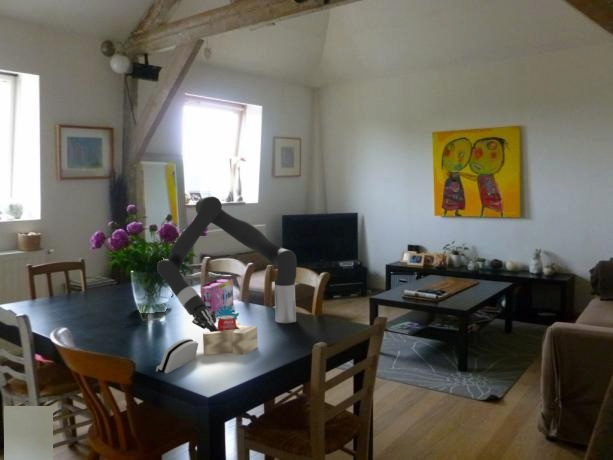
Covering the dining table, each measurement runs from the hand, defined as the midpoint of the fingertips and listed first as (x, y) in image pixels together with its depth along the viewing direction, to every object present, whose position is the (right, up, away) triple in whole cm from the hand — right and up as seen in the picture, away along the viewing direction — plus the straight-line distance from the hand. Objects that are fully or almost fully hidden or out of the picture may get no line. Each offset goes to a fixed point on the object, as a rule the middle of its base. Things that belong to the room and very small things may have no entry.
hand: (217, 334), depth 210 cm
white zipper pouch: (-10, -7, -20) cm, 24 cm away
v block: (+7, -5, -2) cm, 9 cm away
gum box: (-11, 0, +66) cm, 67 cm away
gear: (-1, -2, +36) cm, 36 cm away
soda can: (+4, -5, -1) cm, 6 cm away
